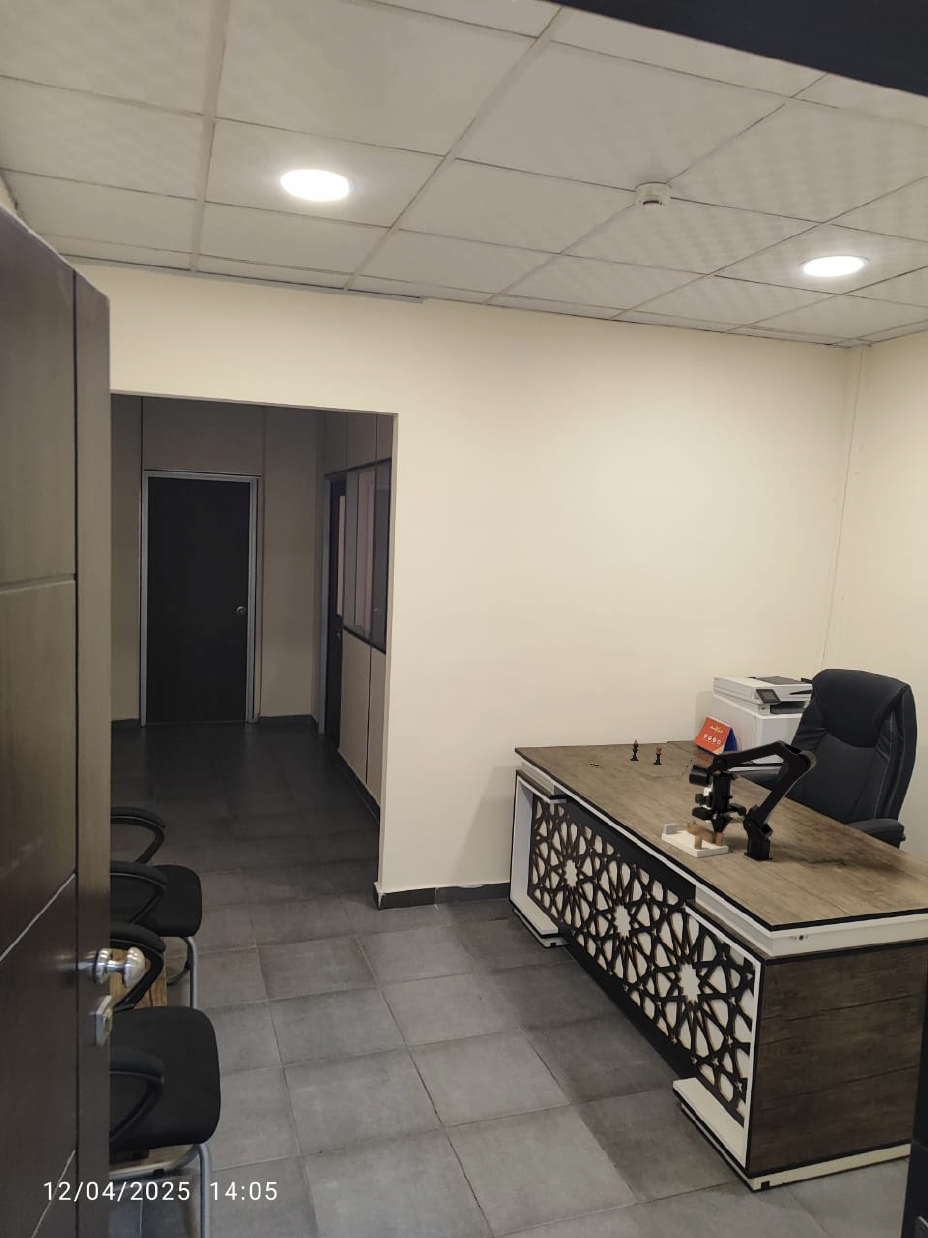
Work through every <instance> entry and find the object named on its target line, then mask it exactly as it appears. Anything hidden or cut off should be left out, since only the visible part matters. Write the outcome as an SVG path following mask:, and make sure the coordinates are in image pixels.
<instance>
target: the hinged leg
mask: <svg viewBox="0 0 928 1238" xmlns="http://www.w3.org/2000/svg"><path fill="white" fill-rule="evenodd" d="M696 822H697V821H696V820H694V819H690V822H687V826H686V827H687V829H686V830H687V832H689V833H691V834H693V835H700V836H702V839H703V840H705V841H708V842H710V843H716V836H717V833H715V832H714V830H711V829H709V828H707V827H706V826H705V827H704V826H703V825H700V824H698V823H696Z"/></svg>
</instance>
